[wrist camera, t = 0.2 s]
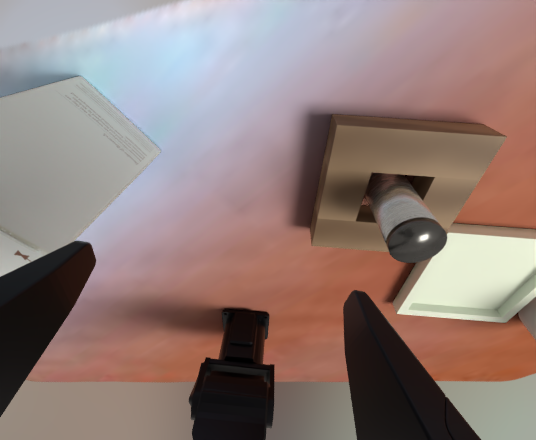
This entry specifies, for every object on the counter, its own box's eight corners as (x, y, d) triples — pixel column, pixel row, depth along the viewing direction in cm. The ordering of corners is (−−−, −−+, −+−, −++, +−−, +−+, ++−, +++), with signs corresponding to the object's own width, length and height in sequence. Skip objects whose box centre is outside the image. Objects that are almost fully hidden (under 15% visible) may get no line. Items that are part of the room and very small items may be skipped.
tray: (497, 311, 32) (505, 322, 31) (392, 302, 32) (396, 313, 31) (581, 232, 24) (596, 243, 23) (440, 222, 24) (448, 232, 23)
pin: (395, 202, 23) (432, 264, 17) (358, 199, 23) (381, 260, 17) (410, 168, 21) (457, 225, 15) (369, 165, 21) (400, 221, 15)
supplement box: (80, 71, 18) (-171, 132, 8) (164, 151, 22) (58, 263, 12) (38, 133, 21) (-181, 233, 11) (117, 195, 25) (1, 313, 15)
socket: (420, 237, 25) (432, 255, 23) (309, 228, 26) (311, 245, 24) (483, 124, 19) (507, 136, 17) (332, 114, 19) (337, 125, 17)
